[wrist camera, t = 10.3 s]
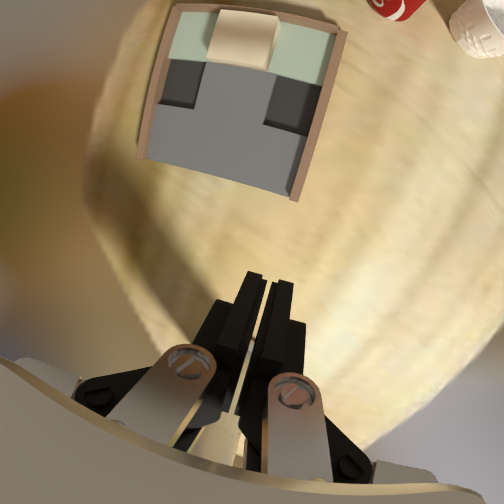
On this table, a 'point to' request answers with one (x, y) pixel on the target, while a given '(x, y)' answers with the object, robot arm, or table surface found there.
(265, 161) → the box
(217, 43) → the birch block
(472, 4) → the white cup
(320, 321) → the table surface
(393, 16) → the soda can
